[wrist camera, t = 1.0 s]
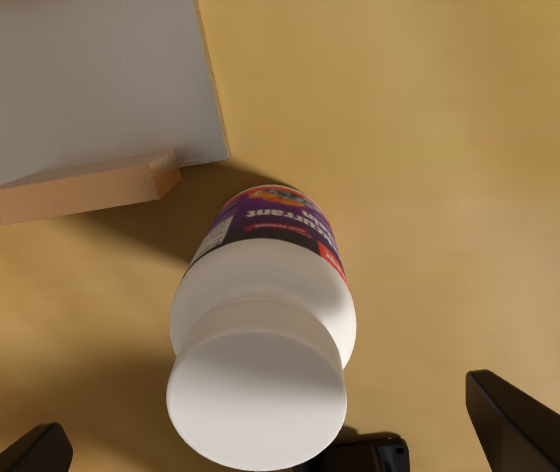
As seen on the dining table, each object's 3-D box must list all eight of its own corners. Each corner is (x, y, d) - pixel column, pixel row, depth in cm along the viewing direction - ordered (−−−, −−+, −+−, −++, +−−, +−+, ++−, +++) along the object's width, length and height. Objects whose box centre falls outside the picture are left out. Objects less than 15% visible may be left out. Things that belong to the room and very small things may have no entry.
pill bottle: (356, 224, 17) (435, 384, 8) (288, 311, 19) (289, 523, 10) (252, 156, 16) (208, 251, 7) (190, 254, 18) (90, 433, 9)
